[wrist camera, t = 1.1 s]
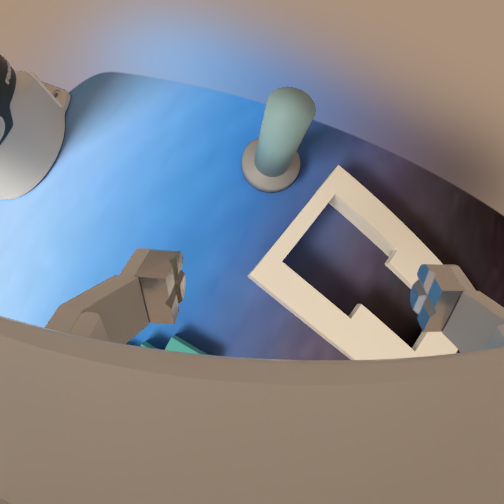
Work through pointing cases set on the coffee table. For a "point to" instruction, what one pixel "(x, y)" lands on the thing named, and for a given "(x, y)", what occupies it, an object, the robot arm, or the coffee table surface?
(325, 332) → the keyhole track
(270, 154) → the round-topped green peg
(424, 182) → the coffee table surface
